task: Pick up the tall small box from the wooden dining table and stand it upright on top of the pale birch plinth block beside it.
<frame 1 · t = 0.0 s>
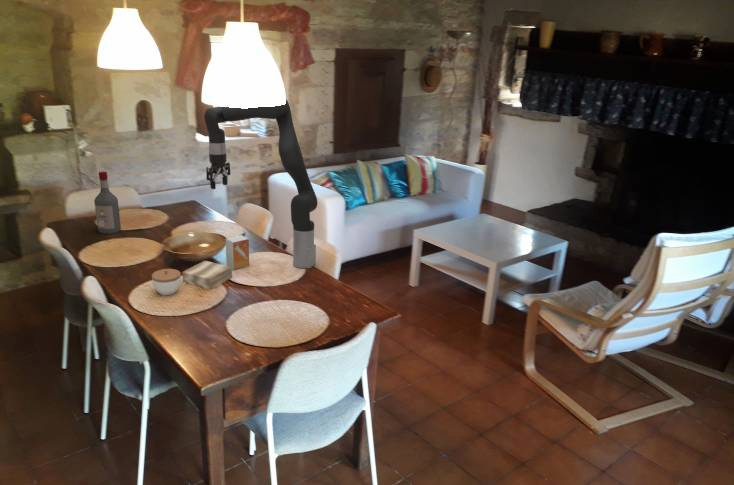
hand: (219, 186, 265), 29 cm above the table, tool pointing down, fingers open, 8 cm apart
birch plinth: (207, 280, 240), on the table
small box: (238, 266, 254), on the table
lidded jar: (167, 292, 227), on the table
liquor: (109, 231, 288), on the table
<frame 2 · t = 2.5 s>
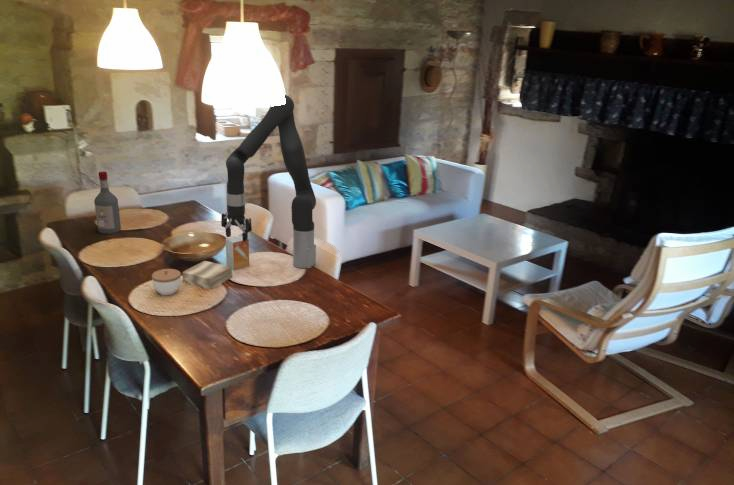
hand: (236, 238, 250), 13 cm above the table, tool pointing down, fingers open, 8 cm apart
small box: (238, 266, 254), on the table, touching gripper
everything else where it was.
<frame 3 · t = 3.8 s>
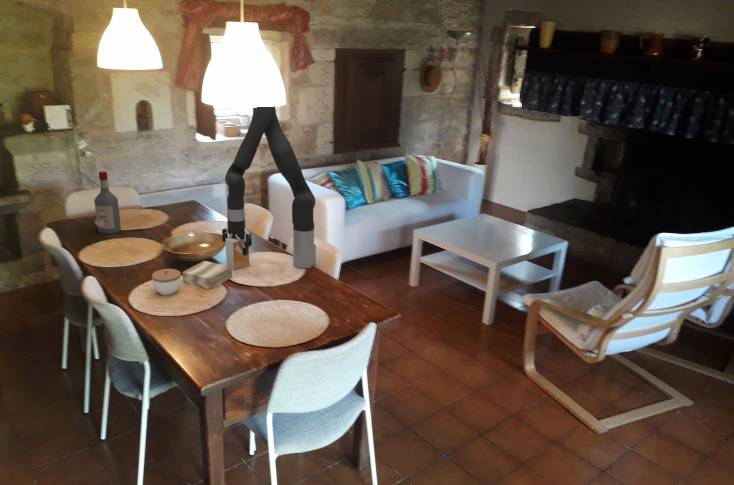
hand: (237, 253, 252), 6 cm above the table, tool pointing down, fingers closed on small box, 7 cm apart
small box: (238, 266, 254), on the table, touching gripper
everything else where it was.
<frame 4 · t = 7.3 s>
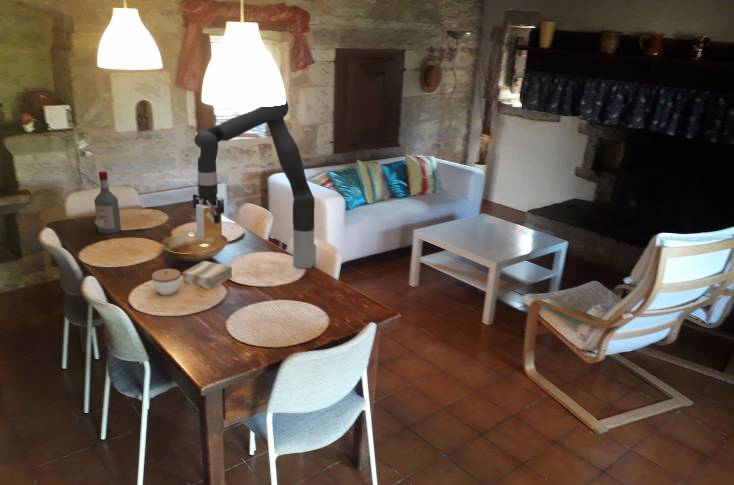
hand: (208, 221, 234), 25 cm above the table, tool pointing down, fingers closed on small box, 7 cm apart
small box: (209, 235, 236), point 18 cm above the table, touching gripper
everything else where it was.
when the fingers open (12 cm above the table, at t = 10.9 s): small box drops 2 cm, point 4 cm above the table.
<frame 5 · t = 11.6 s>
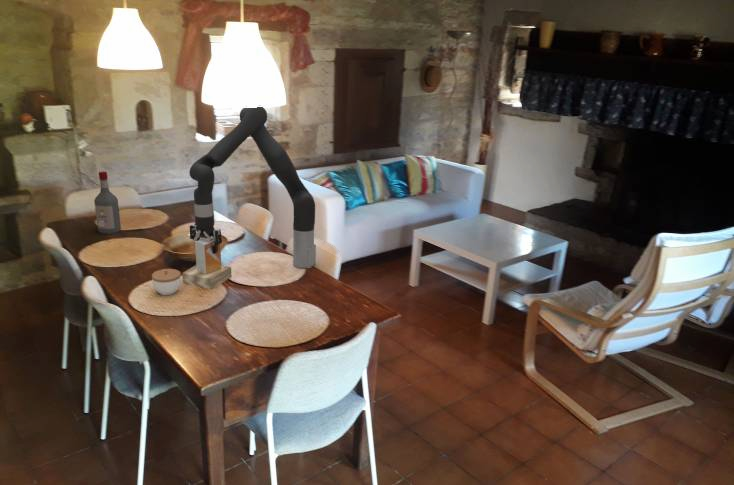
hand: (206, 251, 235), 13 cm above the table, tool pointing down, fingers open, 8 cm apart
small box: (209, 270, 238), point 4 cm above the table, touching gripper
everything else where it was.
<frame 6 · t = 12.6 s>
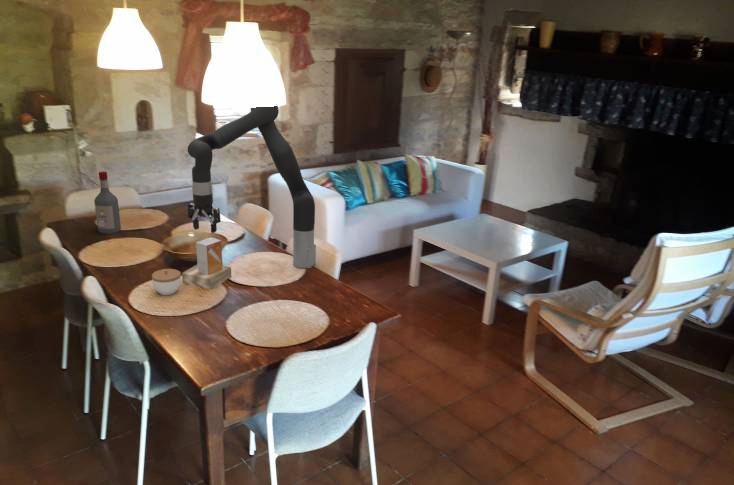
hand: (205, 230, 232), 22 cm above the table, tool pointing down, fingers open, 8 cm apart
birch plinth: (207, 280, 240), on the table, touching small box
small box: (210, 271, 237), point 4 cm above the table, touching birch plinth
everything else where it was.
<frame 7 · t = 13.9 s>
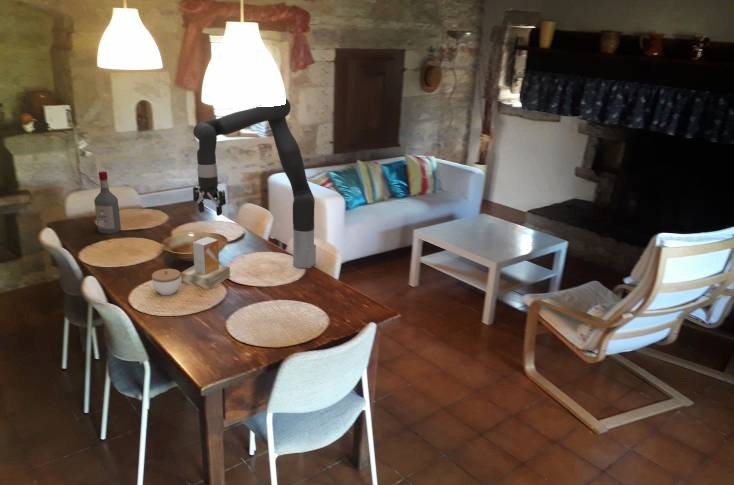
hand: (210, 213, 233), 28 cm above the table, tool pointing down, fingers open, 8 cm apart
small box: (207, 270, 238), point 4 cm above the table, touching birch plinth
everything else where it was.
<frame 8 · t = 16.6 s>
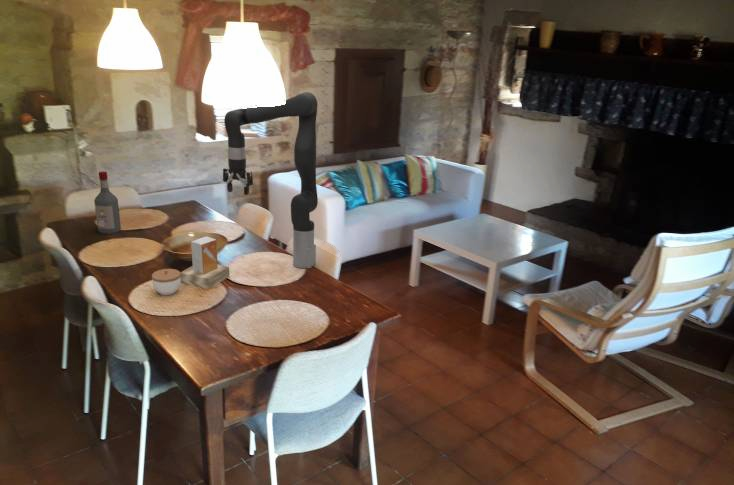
hand: (238, 193, 255), 30 cm above the table, tool pointing down, fingers open, 8 cm apart
at the end: small box inside the target area on the birch plinth (0.4 cm from its centre), point 4.8 cm above the birch plinth's base; small box tilted 0°; the gripper is holding nothing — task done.
